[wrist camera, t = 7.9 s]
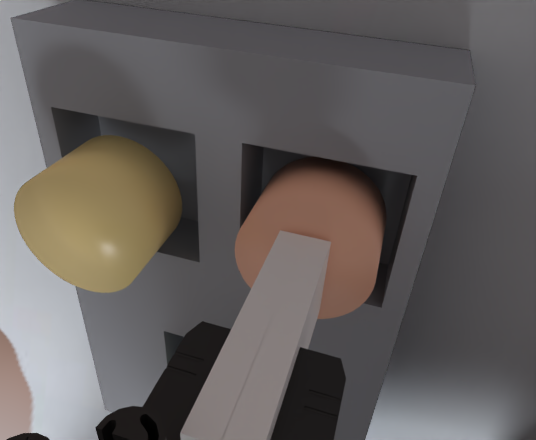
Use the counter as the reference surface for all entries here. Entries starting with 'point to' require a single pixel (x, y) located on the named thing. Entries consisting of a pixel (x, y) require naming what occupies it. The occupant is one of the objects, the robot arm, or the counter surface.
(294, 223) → the terracotta button
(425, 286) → the counter surface
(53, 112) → the console
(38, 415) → the counter surface
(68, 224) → the mustard button
